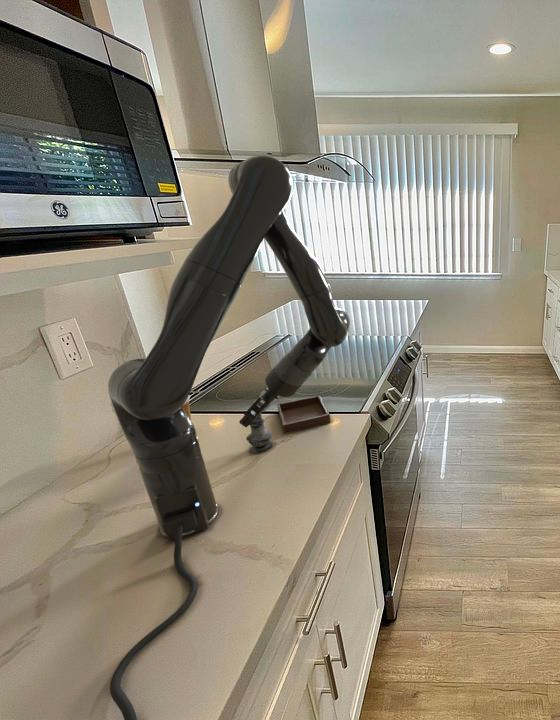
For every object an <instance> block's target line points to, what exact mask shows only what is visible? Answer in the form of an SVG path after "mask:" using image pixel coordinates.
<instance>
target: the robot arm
mask: <svg viewBox="0 0 560 720" xmlns="http://www.w3.org/2000/svg"><path fill="white" fill-rule="evenodd" d="M227 180H228V186H229V190H230V192H231V194H232V195H231V198H230V199H229V201H228V204H227V206H226V207H225V210H224V211H223V213H222V214H221V215H220V216H219V217H218V219H217V220H216V221H215V223H213V225H212V226H211V227H210V228H209V229H208V230H207V231H206V232H205V233H204V234H203V235H202V236H201V238H200V239H199V240H198V241H197V243H196V244H195V245H194V246H193V248H192V249H191V250H190V252H189V253H188V254H187V256H186V257H185V259H184V261H183V263H182V264H181V266H180V268H179V270H178V272H177V273H176V275H175V277H174V279H173V282H172V284H171V287H170V290H169V294H168V298H167V302H166V306H165V307H166V308H165V314H164V320H163V324H162V327H161V331H160V333H159V335H158V337H157V340H156V342H155V343H154V345H153V346H152V348H151V349H150V351H149V353H148V354H147V356H146V358H145V357H141V358H134V359H130V360H128V361H125V362H123V363H122V364H121V363H120V365H119V366H117V367H115V369H114V370H113V371H112V373H111V374H110V376H109V379H108V382H107V391H108V395H109V399H110V402H111V404H112V407H113V409H114V412H115V415H116V417H117V420H118V423H119V425H120V427H121V430H122V433H123V435H124V437H125V439H126V441H127V442H128V444H129V445H130V446H129V447H131V450H132V453H133V455H134V458H135V460H136V463H137V466H138V470H139V472H140V475H141V478H142V481H143V483H144V487H145V489H146V493H147V496H148V498H149V501H150V504H151V506H152V509H153V512H154V516H155V517H156V520H157V523H158V526H159V531H160V534H161V535H162V536H164V537H166V538H167V540H168V542H171V541H174V546H173V547H174V550H173V563H174V567H175V569H176V571H177V573H178V574H179V575H180V577H182V579H183V580H185V581H186V582H187V583H188V585H189V591H188V595H187V597H186V599H185V601H184V602H183V603H182V604H181V605H180V606H179V608H178V609H177V610H175V612H173V613H172V614H171V615H170V616H169V617H168V618H167V619H165V620H164V621H162V622H161V623H160V624H159V625H158V626H156V627H155V628H154V629H152V630H151V631H150V632H148V634H146V635H145V636H144V637H143V638H141V639H140V640H139V641H138V642H137V643H135V645H134V646H132V648H130V649H129V651H128V652H127V653H125V655H124V657H123V658H122V659H121V660H120V661H119V663H118V664H117V666H116V669H115V670H114V672H113V674H112V676H111V680H110V682H109V692H110V693H109V694H110V696H111V699H112V700H113V702H114V703H115V705H116V706H117V707H118V709H119V711H120V713H121V715H122V717H123V720H138V718H137V714H136V710H135V708H134V705H133V704H132V702H131V700H130V699H129V697H128V696H127V694H126V693H125V691H124V690H123V689H122V685H121V684H122V683H121V682H122V678H123V675H124V673H125V670H126V668H127V667H128V665H129V664H130V663H131V661H132V660H133V658H134V657H135V656H136V655H137V654H139V652H140V651H141V650H142V649H143V648H145V646H146V645H148V644H149V643H150V642H151V641H153V640H154V639H155V638H156V637H157V636H159V635H160V634H162V632H164V631H165V630H166V629H167V628H169V627H170V626H171V625H172V624H173V623H175V622H176V621H177V620H178V619H179V618H181V616H182V615H183V614H184V613H185V612H186V611H187V610H188V609H189V608H190V606H191V605H192V603H193V602H194V600H195V598H196V596H197V593H198V589H199V584H198V580H197V579H196V577H195V576H194V575H193V574H192V573H190V572H189V571H188V570H187V569H186V568H185V566H184V563H183V560H182V546H183V545H182V544H183V538H184V537H187V536H190V535H192V534H196V533H199V532H202V531H205V530H208V529H209V525H211V523H212V522H213V521H214V520H216V518H217V516H218V514H219V507H218V504H217V501H216V498H215V495H214V491H213V488H212V484H211V481H210V478H209V473H208V471H207V468H206V463H205V460H204V457H203V452H202V450H201V449H202V448H201V445H200V442H199V438H198V435H197V432H196V427H195V424H193V422H192V419H191V420H190V419H189V418H188V416H187V414H186V412H185V411H184V408H183V404H184V403H185V402H186V400H187V398H188V396H189V395H190V394H191V392H192V389H193V386H194V383H195V381H196V378H197V375H198V373H199V371H200V368H201V365H202V362H203V360H204V358H205V355H206V353H207V351H208V349H209V347H210V345H211V343H212V341H213V339H214V337H215V336H216V334H217V332H218V330H219V328H220V326H221V324H222V322H223V320H224V319H225V317H226V315H227V313H228V311H229V309H230V308H231V306H232V305H233V303H234V301H235V299H236V297H237V295H238V294H239V292H240V289H241V288H242V286H243V283H244V281H245V279H246V277H247V275H248V273H249V271H250V269H251V267H252V265H253V262H254V261H255V259H256V256H257V255H258V253H259V249H260V247H261V245H262V243H263V241H264V240H265V242H266V243H267V245H268V246H269V247H270V249H271V251H272V252H273V254H274V255H275V257H276V259H277V260H278V262H279V264H280V265H281V267H282V269H283V271H284V272H285V275H286V277H287V278H288V281H289V282H290V283H291V287H292V288H293V290H294V291H295V294H296V295H297V297H298V299H299V300H300V302H301V304H302V306H303V309H304V313H305V317H306V319H307V322H308V325H309V329H308V330H307V332H306V333H305V334H304V335H303V337H302V338H300V340H299V341H297V342H296V343H295V345H294V346H293V347H292V348H291V349H290V350H289V351H288V352H287V353H286V354H285V355H284V356H283V357H281V359H280V360H279V361H278V362H277V363H276V364H275V365H274V367H273V368H272V369H271V370H270V371H269V372H268V374H267V375H266V376H265V378H264V382H265V385H266V386H267V387H265V388H264V389H263V390H261V392H260V395H259V396H258V397H256V398H255V399H254V400H253V402H252V405H251V406H250V407H248V409H247V410H246V411H244V413H243V417H242V418H241V419H240V420H239V421H238V423H239V424H240V425H241V426H242V427H244V428H248V427H249V426H250V424H251V422H252V421H253V420H255V419H256V418H257V417H258V415H259V414H260V413H261V414H262V412H266V411H267V410H268V409H270V407H271V406H272V405H273V404H275V403H277V401H278V400H279V399H280V398H282V397H283V398H289V397H291V396H292V397H293V395H295V394H296V392H297V391H298V390H299V389H300V388H301V387H302V386H303V385H304V383H305V382H306V381H307V380H308V379H309V378H310V377H311V375H312V374H313V372H314V371H315V370H316V369H317V368H318V367H319V365H321V364H322V363H323V361H324V360H325V359H326V357H327V355H328V353H329V352H330V350H331V348H335V347H338V346H340V345H341V344H343V342H344V341H345V340H346V338H347V335H348V332H349V330H350V327H351V321H350V317H349V315H348V313H347V312H346V311H345V310H344V309H341V308H338V307H335V304H334V299H333V298H334V293H333V290H332V288H331V285H330V283H329V281H328V279H327V276H326V275H325V273H324V271H323V269H322V267H321V265H320V263H319V262H318V261H317V259H316V257H315V256H314V254H312V252H311V251H310V250H309V249H308V247H307V246H306V245H305V244H304V242H303V241H302V240H301V239H300V237H299V236H298V234H297V233H296V232H295V230H294V229H293V227H292V225H291V224H290V222H289V220H288V218H287V216H286V213H285V211H284V209H285V207H286V206H287V204H288V203H289V202H290V200H291V197H292V195H293V189H294V188H293V186H294V185H293V184H294V183H293V178H292V175H291V173H290V171H289V169H288V168H287V167H286V165H285V164H284V163H283V162H282V161H280V160H279V159H277V158H275V157H273V156H270V155H254V156H251V157H248V158H246V159H244V160H242V161H240V162H238V163H237V164H235V165H234V166H233V167H232V168H231V169H230V171H229V174H228V179H227Z"/></svg>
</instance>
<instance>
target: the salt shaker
mask: <svg viewBox="0 0 560 720" xmlns="http://www.w3.org/2000/svg"><path fill="white" fill-rule="evenodd" d="M249 426H250V430H251V431H250V433H249V434H248V435H247V436H246V438H245V440H246V441H247V443H249V445H251V447H250V448H249V450H250V452H251V453H252V454H261V453H265V452H267V451H269V450H271V449H272V448H273V447H274V443H273V442H272V441H271V439H272V435H273V431H272V430H270V429H266V428H265V419H264V418H263V417H262V412H261V413H260V414H259V415H258V417H257V418H256V419H255V420H253V421H252V422H251V424H250V425H249Z"/></svg>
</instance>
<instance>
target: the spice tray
mask: <svg viewBox="0 0 560 720" xmlns="http://www.w3.org/2000/svg"><path fill="white" fill-rule="evenodd" d="M276 405H277V409H278V414H279V417H280V421H281V424H282V425H281V426H282V429H283V433H284V434H289V433H293V432H298V431H301V430H305V429H310V428H314V427H318V426H322V425H325V424H330V423H331V415H330V413H329V411H328V409H327V407H326V405H325V403H324V401H323V399H322V397H321V396H320V395H319V394H318V395H314V396H310V397H305V398H301V399H300V398H299V399H295V400H291V401H286V402H280V403H277V404H276Z"/></svg>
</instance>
